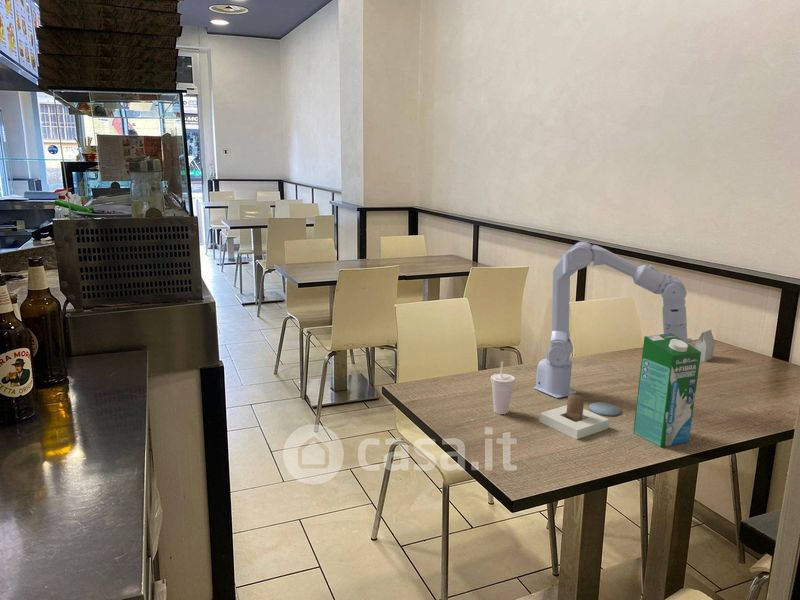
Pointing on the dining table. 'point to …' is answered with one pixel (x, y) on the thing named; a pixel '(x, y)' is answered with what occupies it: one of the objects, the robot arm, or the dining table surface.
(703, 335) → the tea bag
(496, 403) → the smoothie
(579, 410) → the walnut dowel
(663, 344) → the milk carton
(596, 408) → the coaster
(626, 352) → the dining table surface
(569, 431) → the holder block
